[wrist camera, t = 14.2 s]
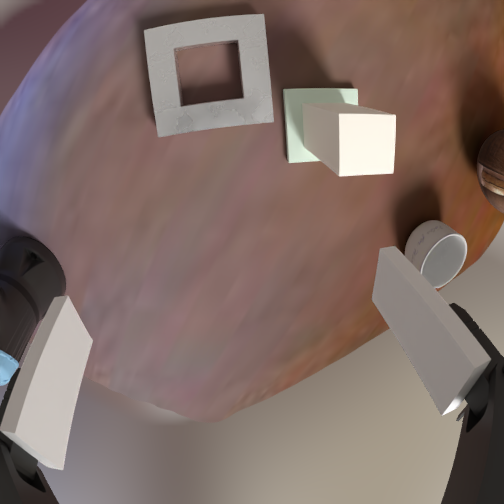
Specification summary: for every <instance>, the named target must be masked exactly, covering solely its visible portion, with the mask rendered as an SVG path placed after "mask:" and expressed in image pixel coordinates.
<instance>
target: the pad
mask: <svg viewBox="0 0 504 504" xmlns="http://www.w3.org/2000/svg"><path fill="white" fill-rule="evenodd" d="M283 98H284V112H285V127H286V143H287V160H288V162H289V163H296V162H309V161H321V160H319V159H318V158H317V157H316V156H314V155H313V154H312V153H311V152H309V151H308V150H307V149H306V148H304V132H303V113H302V103H349V104H353V105H358V90H357V89H346V88H298V89H283Z"/></svg>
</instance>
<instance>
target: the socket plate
mask: <svg viewBox="0 0 504 504" xmlns="http://www.w3.org/2000/svg"><path fill="white" fill-rule="evenodd" d="M144 36H145V45H146V54H147V63H148V71H149V79H150V86H151V94H152V100H153V107H154V114H155V120H156V126H157V132H158V137H163V136H169V135H174V134H180V133H186V132H192V131H199V130H206V129H213V128H220V127H229V126H237V125H247V124H257V123H268V122H274V119H273V106H272V94H271V82H270V71H269V60H268V49H267V39H266V29H265V20H264V14H251V15H236V16H225V17H216V18H207V19H200V20H193V21H187V22H181V23H175V24H170V25H165V26H160V27H156V28H151V29H147V30H144ZM232 43H237V49H238V59H239V68H240V78H241V88H242V98H234V99H225V100H217V101H209V102H202V103H196V104H189V105H183V97H182V90H181V82H180V74H179V65H178V57H177V51H180V50H186V49H192V48H199V47H206V46H213V45H222V44H232Z"/></svg>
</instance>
